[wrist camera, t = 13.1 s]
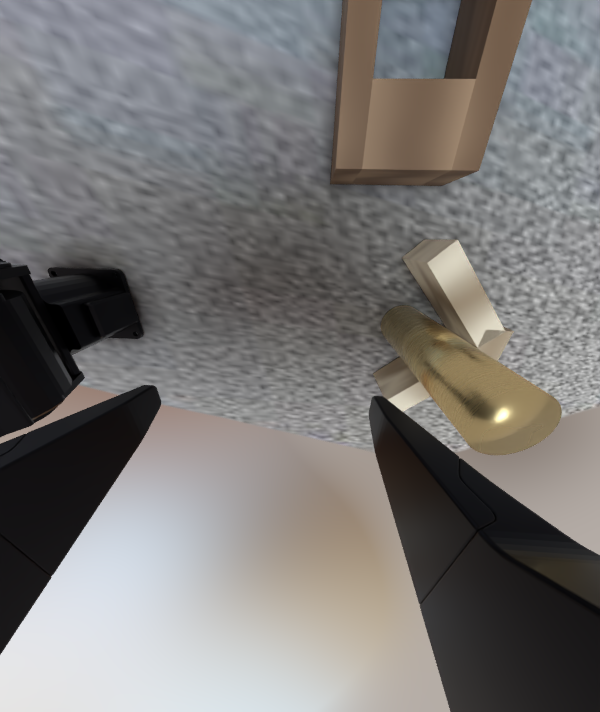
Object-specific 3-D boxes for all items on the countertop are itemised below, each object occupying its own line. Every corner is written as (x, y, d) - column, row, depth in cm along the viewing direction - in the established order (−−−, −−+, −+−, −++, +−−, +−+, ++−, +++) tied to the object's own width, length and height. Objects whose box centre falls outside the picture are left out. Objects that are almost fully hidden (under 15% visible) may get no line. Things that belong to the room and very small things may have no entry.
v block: (370, 384, 24) (382, 413, 20) (406, 238, 18) (434, 238, 14) (440, 389, 24) (465, 419, 20) (503, 244, 17) (560, 246, 14)
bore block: (330, 184, 16) (335, 168, 13) (351, -130, 11) (372, -315, 7) (441, 185, 16) (478, 170, 12) (523, -134, 10) (634, -329, 7)
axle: (372, 327, 21) (447, 431, 10) (401, 297, 20) (529, 375, 8) (399, 348, 22) (497, 465, 10) (428, 320, 21) (579, 420, 9)
